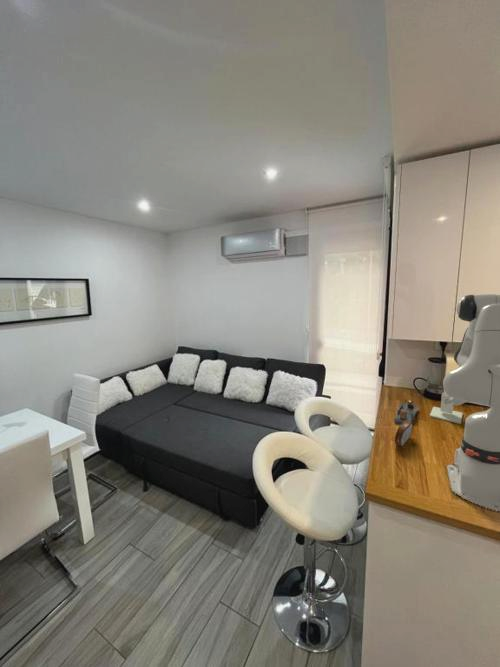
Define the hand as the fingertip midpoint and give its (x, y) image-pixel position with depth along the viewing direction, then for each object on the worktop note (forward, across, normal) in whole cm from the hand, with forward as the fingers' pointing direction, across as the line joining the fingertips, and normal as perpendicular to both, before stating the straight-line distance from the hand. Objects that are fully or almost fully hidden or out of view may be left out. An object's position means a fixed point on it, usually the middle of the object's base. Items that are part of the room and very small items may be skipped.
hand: (445, 401), depth 141 cm
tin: (+14, +40, -2) cm, 42 cm away
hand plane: (+16, +13, -6) cm, 22 cm away
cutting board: (+5, 0, +6) cm, 8 cm away
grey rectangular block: (+3, 0, +4) cm, 5 cm away
